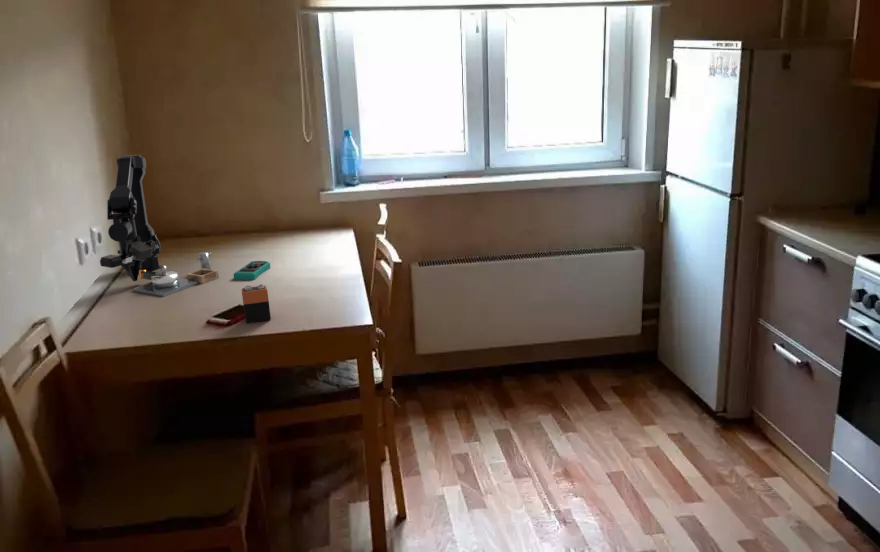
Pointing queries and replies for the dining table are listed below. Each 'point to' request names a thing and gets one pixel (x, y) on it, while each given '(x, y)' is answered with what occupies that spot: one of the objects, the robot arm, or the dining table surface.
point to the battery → (256, 303)
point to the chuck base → (166, 291)
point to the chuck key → (204, 260)
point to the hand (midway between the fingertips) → (135, 281)
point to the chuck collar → (160, 277)
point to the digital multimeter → (252, 270)
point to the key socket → (203, 275)
